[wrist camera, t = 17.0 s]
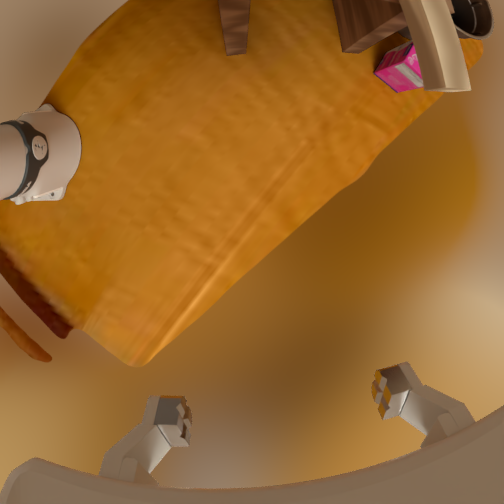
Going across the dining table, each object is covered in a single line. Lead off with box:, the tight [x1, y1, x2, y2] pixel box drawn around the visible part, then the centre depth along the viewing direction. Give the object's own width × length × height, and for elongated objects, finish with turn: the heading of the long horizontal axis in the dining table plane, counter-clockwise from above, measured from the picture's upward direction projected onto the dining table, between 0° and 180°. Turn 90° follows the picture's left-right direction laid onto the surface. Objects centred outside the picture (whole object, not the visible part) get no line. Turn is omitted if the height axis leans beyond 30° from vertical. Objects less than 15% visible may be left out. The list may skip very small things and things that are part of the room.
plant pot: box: [398, 0, 494, 40], centre depth 26 cm, size 16×16×16 cm
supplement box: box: [374, 40, 424, 93], centre depth 34 cm, size 6×6×12 cm
